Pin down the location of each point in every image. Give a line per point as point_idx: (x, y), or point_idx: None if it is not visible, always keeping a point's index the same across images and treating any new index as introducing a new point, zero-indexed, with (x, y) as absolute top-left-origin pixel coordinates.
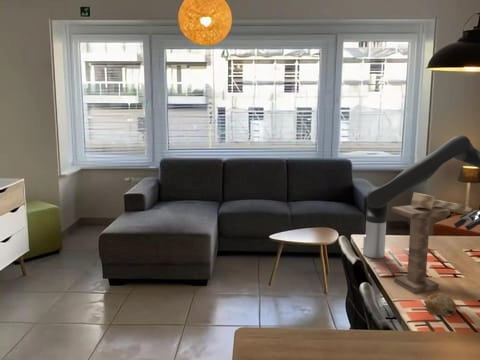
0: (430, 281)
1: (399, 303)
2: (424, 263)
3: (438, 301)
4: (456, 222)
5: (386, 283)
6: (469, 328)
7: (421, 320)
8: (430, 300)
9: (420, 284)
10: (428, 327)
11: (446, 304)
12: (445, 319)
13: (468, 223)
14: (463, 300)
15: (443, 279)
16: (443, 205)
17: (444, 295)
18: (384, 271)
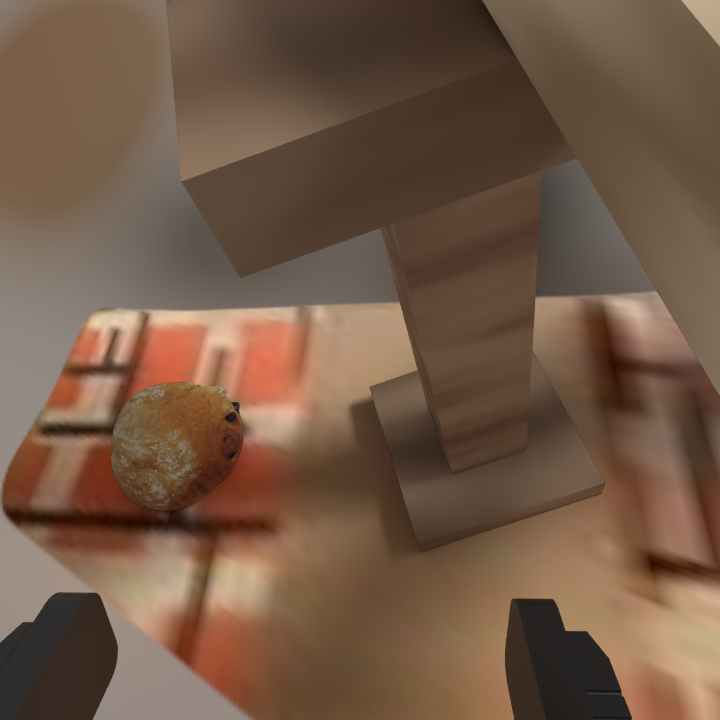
0: (460, 507)
1: (278, 320)
2: (432, 402)
3: (127, 402)
4: (525, 640)
5: None
6: (24, 502)
7: (136, 357)
8: (165, 384)
9: (413, 433)
10: (88, 364)
11: (112, 436)
12: None
13: (41, 670)
14: (252, 626)
15: None
16: (552, 32)
17: (135, 432)
18: None
